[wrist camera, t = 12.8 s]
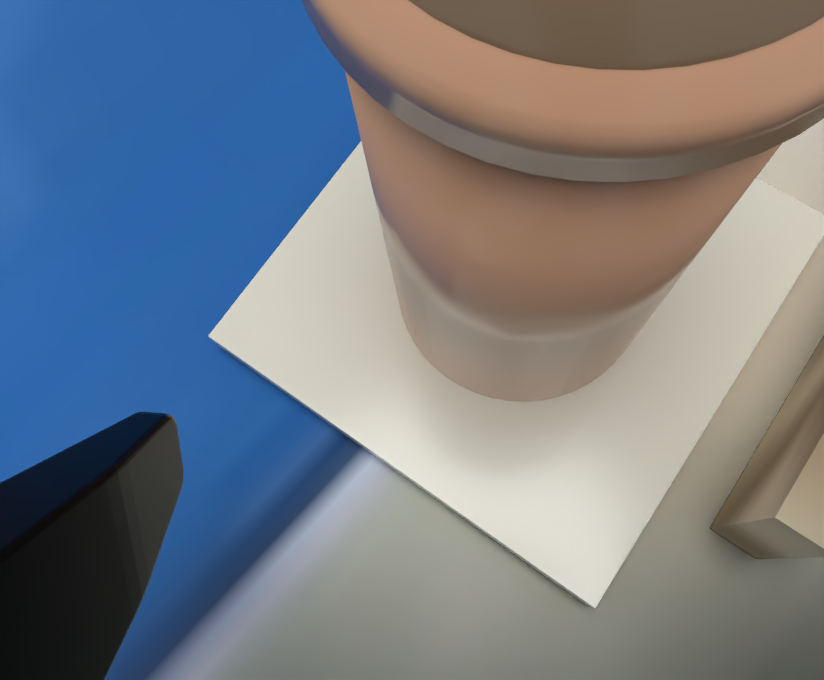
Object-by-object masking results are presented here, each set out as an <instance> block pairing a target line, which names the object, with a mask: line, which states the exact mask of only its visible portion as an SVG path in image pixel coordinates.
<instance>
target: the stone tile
mask: <svg viewBox="0 0 824 680" xmlns="http://www.w3.org/2000/svg"><path fill="white" fill-rule="evenodd" d="M823 236H824V214H822V213H820V212H819V211H817V210H815V209H813V208H811V207H809V206H807V205H806V204H804V203H802V202H800V201H798V200H796V199H795V198H793V197H791V196H789V195H787V194H785V193H784V192H782V191H780V190H778V189H776V188H774V187H773V186H771V185H769V184H767V183H765V182H763V181H762V180H760V179H758V178H755V179H754V181H753V182H752V183H751V185H750V186H749V187H748V189H747V190H746V191H745V193H744V194H743V195H742V197H741V198H740V199H739V201H738V202H737V203H736V204H735V206H734V207H733V208H732V210H731V211H730V212H729V214H728V215H727V216H726V218H725V219H724V220H723V222H722V223H721V224H720V226H719V227H718V228H717V230H716V231H715V232H714V234H713V235H712V236H711V237H710V239H709V240H708V241H707V243H706V244H705V245H704V247H703V248H702V249H701V251H700V252H699V253H698V255H697V256H696V257H695V259H694V260H693V261H692V263H691V264H690V265H689V267H688V268H687V269H686V270H685V272H684V273H683V274H682V276H681V277H680V278H679V280H678V281H677V282H676V284H675V285H674V286H673V288H672V289H671V290H670V292H669V293H668V294H667V296H666V297H665V298H664V299H663V301H662V302H661V303H660V305H659V306H658V307H657V309H656V310H655V311H654V313H653V314H652V315H651V317H650V318H649V319H648V321H647V322H646V323H645V325H644V326H643V327H642V329H641V330H640V331H639V332H638V334H637V335H636V336H635V338H634V339H633V340H632V342H631V343H630V344H629V346H628V347H627V348H626V350H625V351H624V352H623V353H622V355H621V356H620V357H619V358H618V359H617V361H616V362H615V363H614V364H613V365H612V366H611V367H610V368H609V369H608V370H607V371H605V372H604V373H603V374H602V375H601V376H599V377H598V378H596V379H595V380H594V381H592V382H591V383H589V384H587V385H585V386H584V387H582V388H580V389H578V390H576V391H574V392H571V393H568V394H565V395H562V396H559V397H555V398H551V399H546V400H540V401H527V402H521V401H506V400H501V399H495V398H490V397H487V396H484V395H481V394H478V393H475V392H472V391H470V390H468V389H466V388H464V387H462V386H460V385H458V384H457V383H455V382H453V381H452V380H450V379H449V378H447V377H446V376H444V375H443V374H442V373H441V372H440V371H438V370H437V369H436V368H435V367H434V366H433V365H432V364H431V363H430V362H429V361H428V360H427V359H426V358H425V357H424V356H423V354H422V353H421V352H420V350H419V349H418V347H417V346H416V344H415V343H414V341H413V340H412V338H411V336H410V334H409V332H408V330H407V328H406V325H405V322H404V319H403V317H402V314H401V310H400V305H399V301H398V297H397V292H396V288H395V284H394V279H393V275H392V271H391V266H390V262H389V258H388V254H387V249H386V245H385V241H384V236H383V232H382V228H381V223H380V219H379V215H378V210H377V206H376V202H375V198H374V193H373V189H372V185H371V180H370V176H369V172H368V167H367V163H366V159H365V154H364V150H363V146H362V142H360V143H359V145H358V146H357V147H356V148H355V150H354V151H353V152H352V153H351V155H350V156H349V157H348V159H347V160H346V161H345V162H344V164H343V165H342V166H341V167H340V169H339V170H338V171H337V173H336V174H335V175H334V176H333V178H332V179H331V180H330V181H329V183H328V184H327V185H326V187H325V188H324V189H323V190H322V192H321V193H320V194H319V195H318V197H317V198H316V199H315V201H314V202H313V203H312V204H311V206H310V207H309V208H308V210H307V211H306V212H305V213H304V215H303V216H302V217H301V218H300V220H299V221H298V222H297V224H296V225H295V226H294V227H293V229H292V230H291V231H290V232H289V234H288V235H287V236H286V238H285V239H284V240H283V241H282V243H281V244H280V245H279V246H278V248H277V249H276V250H275V252H274V253H273V254H272V255H271V257H270V258H269V259H268V260H267V262H266V263H265V264H264V266H263V267H262V268H261V269H260V271H259V272H258V273H257V275H256V276H255V277H254V278H253V280H252V281H251V282H250V283H249V285H248V286H247V287H246V289H245V290H244V291H243V292H242V294H241V295H240V296H239V297H238V299H237V300H236V301H235V303H234V304H233V305H232V306H231V308H230V309H229V310H228V311H227V313H226V314H225V315H224V317H223V318H222V319H221V320H220V322H219V323H218V324H217V325H216V327H215V328H214V329H213V331H212V332H211V333H210V334H209V337H210V338H211V339H212V340H213V341H214V342H215V343H216V344H217V345H218V346H220V347H221V348H222V349H224V350H225V351H226V352H228V353H229V354H231V355H232V356H234V357H235V358H236V359H238V360H239V361H241V362H242V363H243V364H245V365H246V366H248V367H249V368H251V369H252V370H253V371H255V372H256V373H258V374H259V375H261V376H262V377H263V378H265V379H266V380H268V381H269V382H270V383H272V384H273V385H275V386H276V387H278V388H279V389H280V390H282V391H283V392H285V393H286V394H288V395H289V396H290V397H292V398H293V399H295V400H296V401H297V402H299V403H300V404H302V405H303V406H305V407H306V408H307V409H309V410H310V411H312V412H313V413H314V414H316V415H317V416H319V417H320V418H322V419H323V420H324V421H326V422H327V423H329V424H330V425H332V426H333V427H334V428H336V429H337V430H339V431H340V432H341V433H343V434H344V435H346V436H347V437H349V438H350V439H351V440H353V441H354V442H356V443H357V444H358V445H360V446H361V447H363V448H364V449H366V450H367V451H368V452H370V453H371V454H373V455H374V456H376V457H377V458H378V459H380V460H381V461H383V462H384V463H385V464H387V465H388V466H390V467H391V468H393V469H394V470H395V471H397V472H398V473H400V474H401V475H402V476H404V477H405V478H407V479H408V480H410V481H411V482H412V483H414V484H415V485H417V486H418V487H420V488H421V489H422V490H424V491H425V492H427V493H428V494H429V495H431V496H432V497H434V498H435V499H437V500H438V501H439V502H441V503H442V504H444V505H445V506H447V507H448V508H449V509H451V510H452V511H454V512H455V513H456V514H458V515H459V516H461V517H462V518H464V519H465V520H466V521H468V522H469V523H471V524H472V525H473V526H475V527H476V528H478V529H479V530H481V531H482V532H483V533H485V534H486V535H488V536H489V537H491V538H492V539H493V540H495V541H496V542H498V543H499V544H500V545H502V546H503V547H505V548H506V549H508V550H509V551H510V552H512V553H513V554H515V555H516V556H517V557H519V558H520V559H522V560H523V561H525V562H526V563H527V564H529V565H530V566H532V567H533V568H535V569H536V570H537V571H539V572H540V573H542V574H543V575H544V576H546V577H547V578H549V579H550V580H552V581H553V582H554V583H556V584H557V585H559V586H560V587H561V588H563V589H564V590H566V591H567V592H569V593H570V594H571V595H573V596H574V597H576V598H577V599H579V600H580V601H581V602H583V603H584V604H586V605H587V606H589V607H592V608H596V606H597V604H598V603H599V601H600V600H601V598H602V596H603V595H604V593H605V591H606V590H607V588H608V586H609V585H610V583H611V582H612V580H613V578H614V577H615V575H616V573H617V572H618V570H619V569H620V567H621V565H622V564H623V562H624V560H625V559H626V557H627V555H628V554H629V552H630V551H631V549H632V547H633V546H634V544H635V542H636V541H637V539H638V538H639V536H640V534H641V533H642V531H643V529H644V528H645V526H646V524H647V523H648V521H649V520H650V518H651V516H652V515H653V513H654V511H655V510H656V508H657V507H658V505H659V503H660V502H661V500H662V498H663V497H664V495H665V493H666V492H667V490H668V489H669V487H670V485H671V484H672V482H673V480H674V479H675V477H676V475H677V474H678V472H679V471H680V469H681V467H682V466H683V464H684V462H685V461H686V459H687V458H688V456H689V454H690V453H691V451H692V449H693V448H694V446H695V444H696V443H697V441H698V440H699V438H700V436H701V435H702V433H703V431H704V430H705V428H706V427H707V425H708V423H709V422H710V420H711V418H712V417H713V415H714V413H715V412H716V410H717V409H718V407H719V405H720V404H721V402H722V400H723V399H724V397H725V396H726V394H727V392H728V391H729V389H730V387H731V386H732V384H733V382H734V381H735V379H736V378H737V376H738V374H739V373H740V371H741V369H742V368H743V366H744V365H745V363H746V361H747V360H748V358H749V356H750V355H751V353H752V351H753V350H754V348H755V347H756V345H757V343H758V342H759V340H760V338H761V337H762V335H763V334H764V332H765V330H766V329H767V327H768V325H769V324H770V322H771V320H772V319H773V317H774V316H775V314H776V312H777V311H778V309H779V307H780V306H781V304H782V303H783V301H784V299H785V298H786V296H787V294H788V293H789V291H790V289H791V288H792V286H793V285H794V283H795V281H796V280H797V278H798V276H799V275H800V273H801V272H802V270H803V268H804V267H805V265H806V263H807V262H808V260H809V258H810V257H811V255H812V254H813V252H814V250H815V249H816V247H817V245H818V244H819V242H820V240H821V239H822V237H823Z"/></svg>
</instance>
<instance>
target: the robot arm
mask: <svg viewBox="0 0 824 680" xmlns="http://www.w3.org/2000/svg"><path fill="white" fill-rule="evenodd" d="M182 483H183V464H182V457H181V450H180V443H179V436H178V430H177V424H176V422H175V419H174V418H173V417H172V416H171V415H170V414H163V413H151V412H138V413H135V414H133V415H131V416H129V417H127V418H126V419H124V420H122V421H120V422H118V423H116V424H114V425H112V426H110V427H108V428H106V429H104V430H102V431H100V432H98V433H96V434H94V435H92V436H91V437H89V438H87V439H85V440H83V441H81V442H79V443H77V444H75V445H73V446H71V447H69V448H67V449H65V450H63V451H61V452H59V453H57V454H56V455H54V456H52V457H50V458H48V459H46V460H44V461H42V462H40V463H38V464H36V465H34V466H32V467H30V468H28V469H26V470H24V471H22V472H21V473H19V474H17V475H15V476H13V477H11V478H9V479H7V480H5V481H3V482H1V483H0V680H104V679H105V677H106V675H107V673H108V670H109V668H110V666H111V664H112V662H113V660H114V658H115V656H116V654H117V652H118V650H119V648H120V646H121V644H122V641H123V639H124V637H125V635H126V633H127V631H128V629H129V627H130V625H131V623H132V621H133V619H134V617H135V614H136V612H137V610H138V608H139V605H140V603H141V601H142V599H143V596H144V594H145V591H146V588H147V586H148V583H149V580H150V578H151V575H152V572H153V569H154V566H155V563H156V560H157V557H158V555H159V552H160V549H161V546H162V543H163V540H164V537H165V534H166V532H167V529H168V526H169V523H170V520H171V517H172V514H173V511H174V509H175V506H176V503H177V500H178V497H179V494H180V491H181V488H182Z"/></svg>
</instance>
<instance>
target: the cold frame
mask: <svg viewBox="0 0 824 680" xmlns="http://www.w3.org/2000/svg"><path fill="white" fill-rule="evenodd" d="M710 529H712V530H713V531H715V532H716V533H718V534H719V535H721V536H722V537H724V538H725V539H727V540H729V541H730V542H732V543H733V544H735V545H736V546H738V547H739V548H741V549H742V550H744V551H745V552H747V553H748V554H750V555H751V556H753V557H754V558H756V559H768V558H798V557H824V336H823V338H822V340H821V341H820V343H819V345H818V347H817V348H816V350H815V352H814V353H813V355H812V357H811V358H810V360H809V362H808V363H807V365H806V367H805V368H804V370H803V372H802V374H801V375H800V377H799V379H798V380H797V382H796V384H795V385H794V387H793V389H792V390H791V392H790V394H789V395H788V397H787V399H786V400H785V402H784V404H783V406H782V407H781V409H780V411H779V412H778V414H777V416H776V417H775V419H774V421H773V422H772V424H771V426H770V427H769V429H768V431H767V432H766V434H765V436H764V438H763V439H762V441H761V443H760V444H759V446H758V448H757V449H756V451H755V453H754V454H753V456H752V458H751V459H750V461H749V463H748V464H747V466H746V468H745V470H744V471H743V473H742V475H741V476H740V478H739V480H738V481H737V483H736V485H735V486H734V488H733V490H732V491H731V493H730V495H729V496H728V498H727V500H726V502H725V503H724V505H723V507H722V508H721V510H720V512H719V513H718V515H717V517H716V518H715V520H714V522H713V523H712V525H711V527H710Z"/></svg>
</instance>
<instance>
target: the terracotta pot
mask: <svg viewBox="0 0 824 680" xmlns="http://www.w3.org/2000/svg"><path fill="white" fill-rule="evenodd" d="M302 2H303V5H304V7H305V10H306V12H307V14H308V16H309V17H310V19H311V21H312V23H313V25H314V27H315V28H316V30H317V32H318V34H319V36H320V37H321V39H322V41H323V43H324V44H325V45H326V47H327V48H328V49H329V51H330V52H331V53H332V54H333V56H334V57H335V58H336V60H337V61H338V62H339V64H340V65H341V66H342V68H343V69H344V70H345V73H346V77H347V81H348V85H349V90H350V94H351V98H352V103H353V107H354V111H355V116H356V120H357V124H358V129H359V133H360V137H361V142H362V146H363V150H364V154H365V159H366V163H367V167H368V172H369V176H370V180H371V185H372V189H373V193H374V198H375V202H376V206H377V210H378V215H379V219H380V223H381V228H382V232H383V236H384V241H385V245H386V249H387V254H388V258H389V262H390V266H391V271H392V275H393V279H394V284H395V288H396V292H397V297H398V301H399V305H400V310H401V314H402V317H403V319H404V322H405V325H406V328H407V330H408V332H409V334H410V336H411V338H412V340H413V341H414V343H415V344H416V346H417V347H418V349H419V350H420V352H421V353H422V354H423V356H424V357H425V358H426V359H427V360H428V361H429V362H430V363H431V364H432V365H433V366H434V367H435V368H436V369H437V370H438V371H440V372H441V373H442V374H443V375H444V376H446V377H447V378H449V379H450V380H452V381H453V382H455V383H457V384H458V385H460V386H462V387H464V388H466V389H468V390H470V391H472V392H475V393H478V394H481V395H484V396H487V397H490V398H495V399H501V400H506V401H521V402H527V401H540V400H546V399H551V398H555V397H559V396H562V395H565V394H568V393H571V392H574V391H576V390H578V389H580V388H582V387H584V386H585V385H587V384H589V383H591V382H592V381H594V380H595V379H596V378H598V377H599V376H601V375H602V374H603V373H604V372H605V371H607V370H608V369H609V368H610V367H611V366H612V365H613V364H614V363H615V362H616V361H617V359H618V358H619V357H620V356H621V355H622V353H623V352H624V351H625V350H626V348H627V347H628V346H629V344H630V343H631V342H632V340H633V339H634V338H635V336H636V335H637V334H638V332H639V331H640V330H641V329H642V327H643V326H644V325H645V323H646V322H647V321H648V319H649V318H650V317H651V315H652V314H653V313H654V311H655V310H656V309H657V307H658V306H659V305H660V303H661V302H662V301H663V299H664V298H665V297H666V296H667V294H668V293H669V292H670V290H671V289H672V288H673V286H674V285H675V284H676V282H677V281H678V280H679V278H680V277H681V276H682V274H683V273H684V272H685V270H686V269H687V268H688V267H689V265H690V264H691V263H692V261H693V260H694V259H695V257H696V256H697V255H698V253H699V252H700V251H701V249H702V248H703V247H704V245H705V244H706V243H707V241H708V240H709V239H710V237H711V236H712V235H713V234H714V232H715V231H716V230H717V228H718V227H719V226H720V224H721V223H722V222H723V220H724V219H725V218H726V216H727V215H728V214H729V212H730V211H731V210H732V208H733V207H734V206H735V204H736V203H737V202H738V201H739V199H740V198H741V197H742V195H743V194H744V193H745V191H746V190H747V189H748V187H749V186H750V185H751V183H752V182H753V181H754V179H755V178H756V177H757V175H758V174H759V173H760V172H761V170H762V169H763V168H764V166H765V165H766V164H767V162H768V161H769V160H770V158H771V157H772V156H773V154H774V153H775V152H776V150H777V149H778V148H779V146H780V145H781V144H782V143H783V142H785V141H787V140H789V139H791V138H793V137H795V136H797V135H799V134H801V133H802V132H804V131H805V130H807V129H808V128H810V127H811V126H813V125H814V124H816V123H817V122H819V121H820V120H822V119H823V118H824V0H302Z"/></svg>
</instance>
